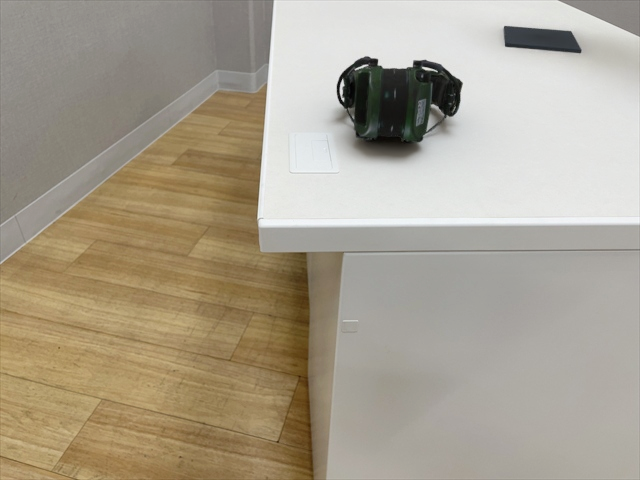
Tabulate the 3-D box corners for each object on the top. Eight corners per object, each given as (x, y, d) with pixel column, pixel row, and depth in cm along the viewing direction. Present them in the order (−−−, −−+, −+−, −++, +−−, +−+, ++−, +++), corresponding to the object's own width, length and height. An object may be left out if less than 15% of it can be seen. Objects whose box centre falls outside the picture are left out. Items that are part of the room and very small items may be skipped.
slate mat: (570, 33, 110) (571, 31, 110) (580, 52, 98) (581, 49, 97) (503, 28, 113) (504, 25, 113) (505, 46, 101) (505, 43, 100)
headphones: (491, 114, 55) (461, 83, 73) (412, 15, 51) (401, 8, 69) (394, 191, 60) (389, 145, 77) (316, 105, 56) (329, 78, 74)
